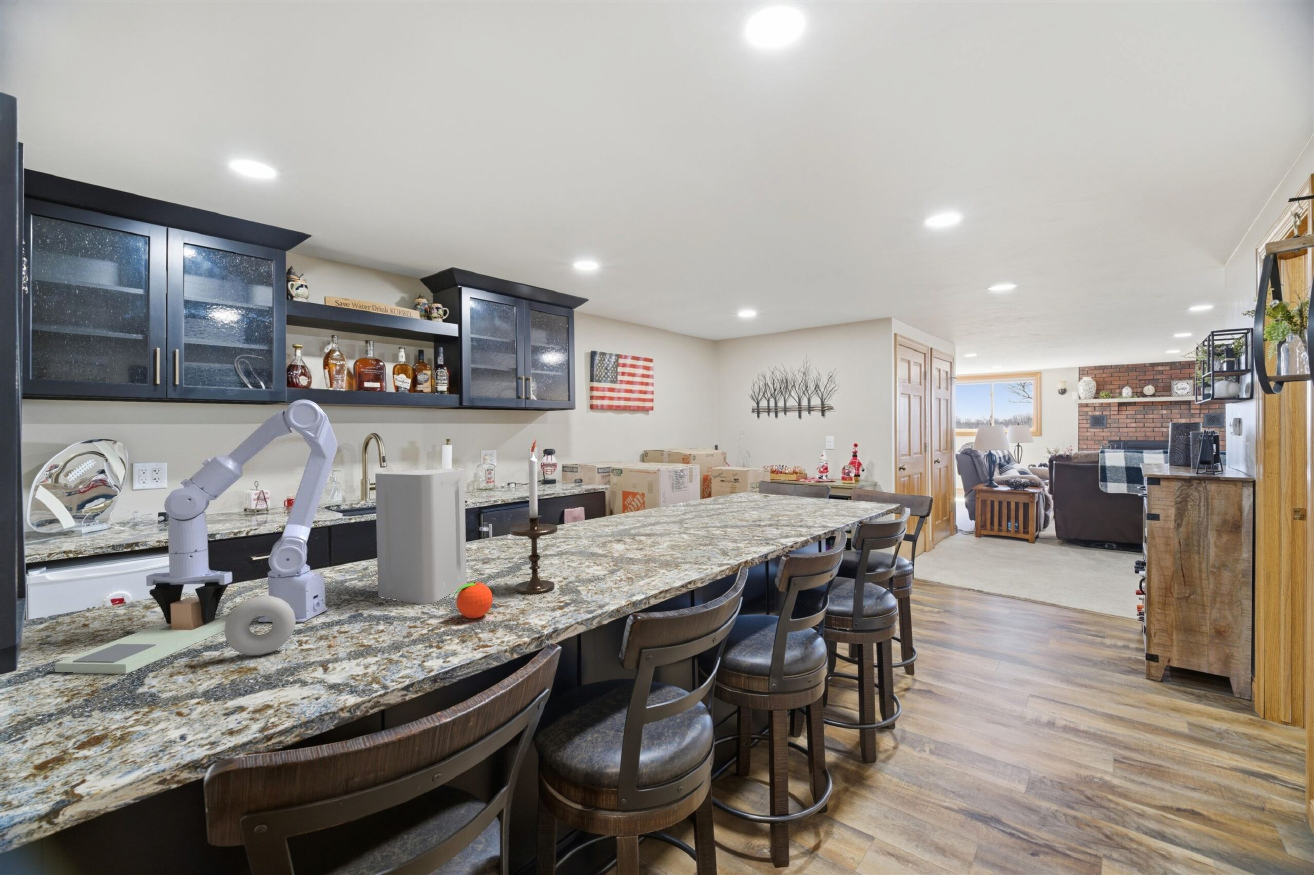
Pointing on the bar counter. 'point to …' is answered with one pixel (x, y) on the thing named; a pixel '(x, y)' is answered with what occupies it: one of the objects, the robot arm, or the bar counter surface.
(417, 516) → the grey storage bin
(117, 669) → the pocket board
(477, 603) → the clementine
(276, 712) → the bar counter surface
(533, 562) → the candlestick
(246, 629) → the donut
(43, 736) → the bar counter surface
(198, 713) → the bar counter surface
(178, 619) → the terracotta block
